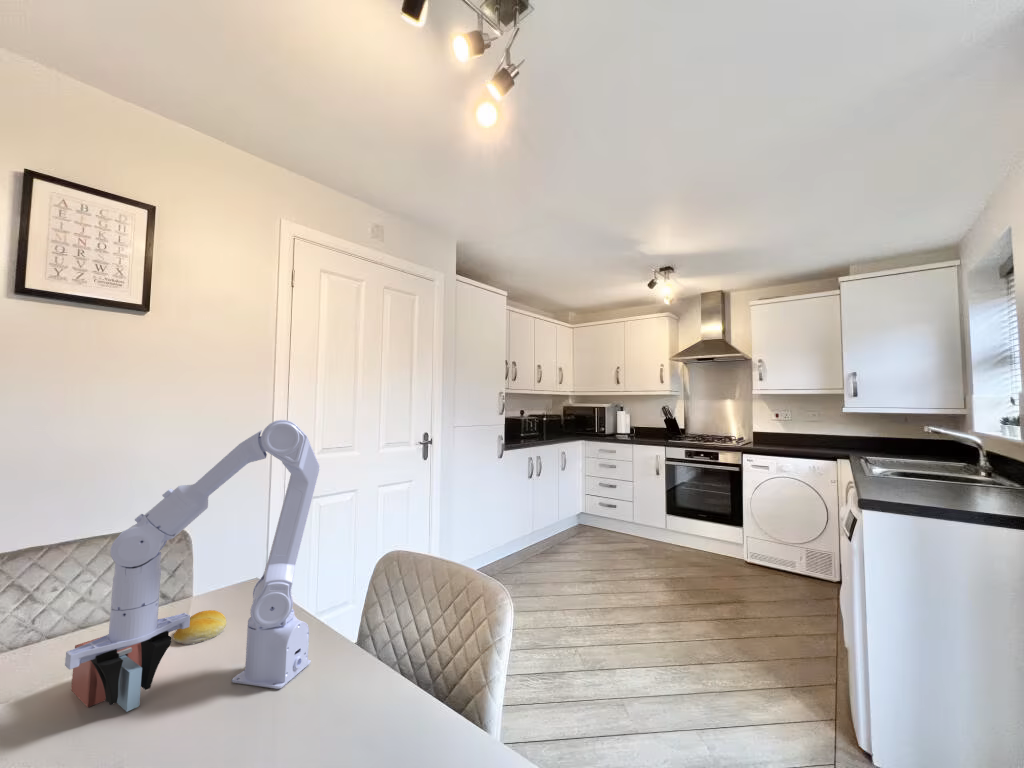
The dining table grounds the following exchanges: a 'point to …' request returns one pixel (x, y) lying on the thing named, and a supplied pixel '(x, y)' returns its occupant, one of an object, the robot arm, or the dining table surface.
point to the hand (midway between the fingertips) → (128, 694)
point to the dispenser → (97, 676)
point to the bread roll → (201, 627)
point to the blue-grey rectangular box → (129, 684)
